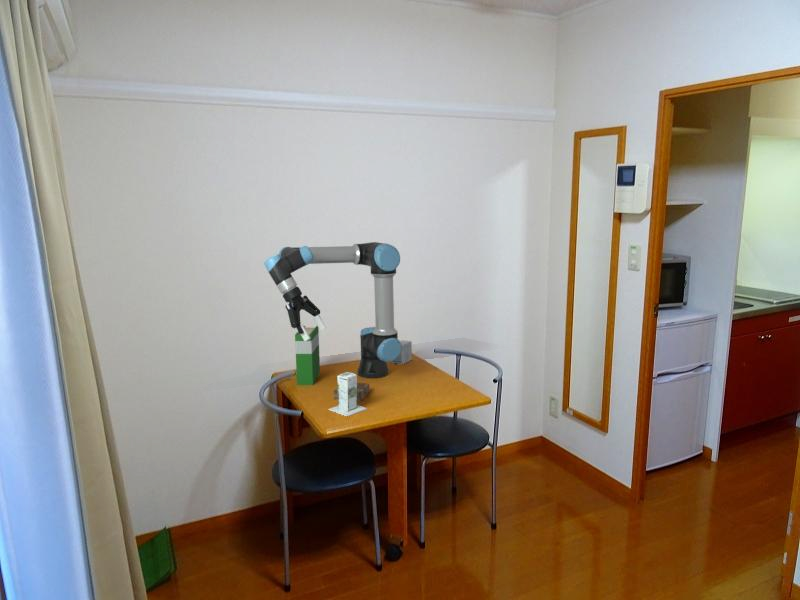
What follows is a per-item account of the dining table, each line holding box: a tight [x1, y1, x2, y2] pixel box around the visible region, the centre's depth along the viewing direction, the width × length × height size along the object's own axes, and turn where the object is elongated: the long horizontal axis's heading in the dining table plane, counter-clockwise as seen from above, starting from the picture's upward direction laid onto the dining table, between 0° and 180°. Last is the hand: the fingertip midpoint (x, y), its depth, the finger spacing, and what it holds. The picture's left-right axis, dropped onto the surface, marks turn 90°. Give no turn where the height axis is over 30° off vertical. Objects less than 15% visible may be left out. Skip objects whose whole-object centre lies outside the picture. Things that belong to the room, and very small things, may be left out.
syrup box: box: [337, 371, 358, 411], centre depth 232 cm, size 6×6×14 cm
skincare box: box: [391, 340, 413, 365], centre depth 298 cm, size 10×6×10 cm, turn 147°
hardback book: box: [294, 325, 321, 386], centre depth 270 cm, size 18×7×24 cm, turn 177°
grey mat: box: [328, 404, 368, 418], centre depth 233 cm, size 11×11×1 cm
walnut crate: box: [333, 382, 370, 403], centre depth 249 cm, size 12×12×4 cm
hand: (315, 334), depth 238 cm, fingers open, 13 cm apart
